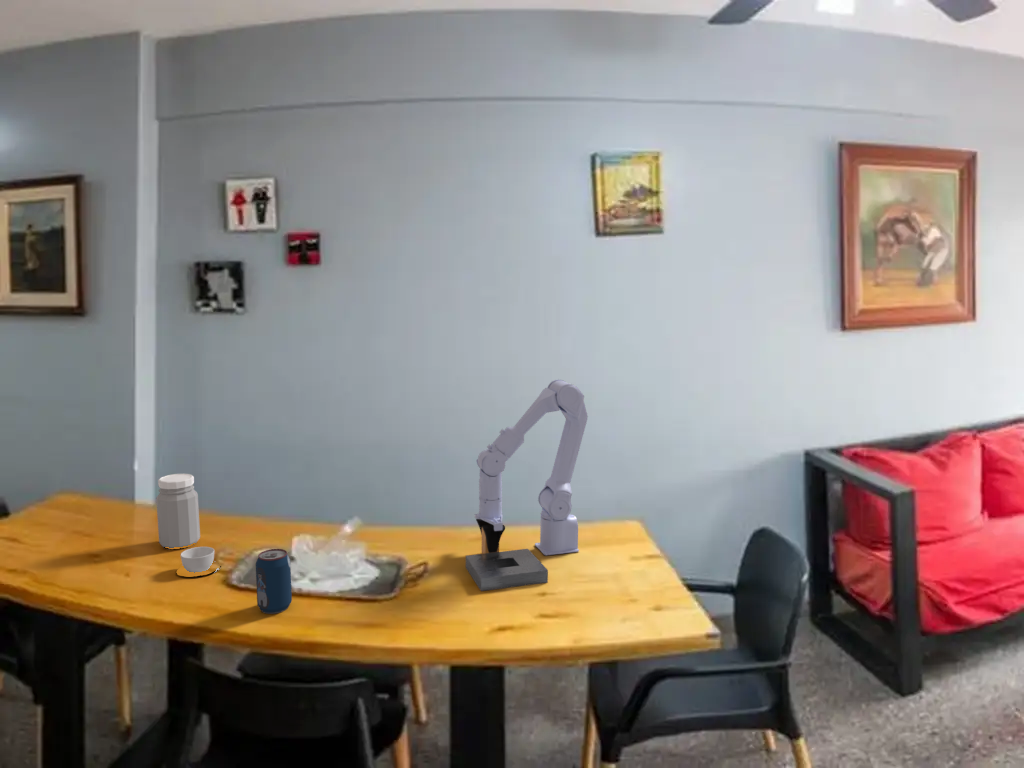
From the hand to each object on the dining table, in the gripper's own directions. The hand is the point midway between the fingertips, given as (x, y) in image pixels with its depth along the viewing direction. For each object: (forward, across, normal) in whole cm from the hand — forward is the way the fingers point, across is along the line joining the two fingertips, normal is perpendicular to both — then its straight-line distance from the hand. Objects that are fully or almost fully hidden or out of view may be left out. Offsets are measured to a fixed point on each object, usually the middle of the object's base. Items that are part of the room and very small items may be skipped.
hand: (490, 548), depth 179 cm
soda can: (+2, +15, -52) cm, 54 cm away
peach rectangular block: (+2, 0, 0) cm, 2 cm away
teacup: (+2, -11, -70) cm, 70 cm away
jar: (+2, -31, -76) cm, 82 cm away
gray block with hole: (+2, +13, 0) cm, 13 cm away
